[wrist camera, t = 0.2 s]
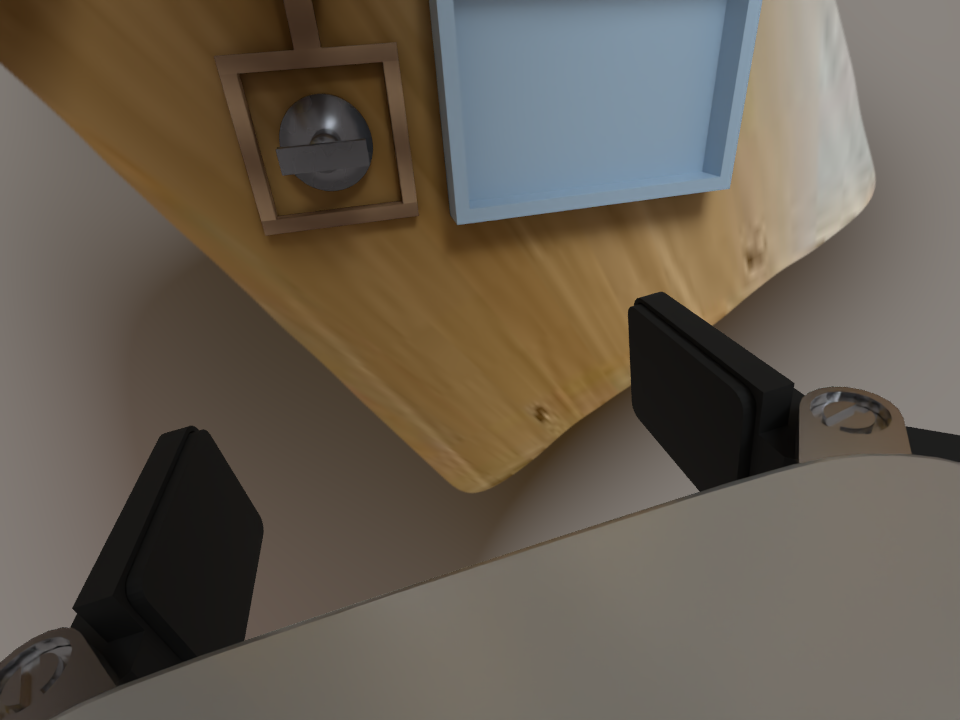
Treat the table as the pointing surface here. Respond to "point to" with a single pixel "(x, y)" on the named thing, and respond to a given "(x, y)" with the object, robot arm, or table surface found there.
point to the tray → (588, 100)
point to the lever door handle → (324, 142)
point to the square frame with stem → (308, 57)
